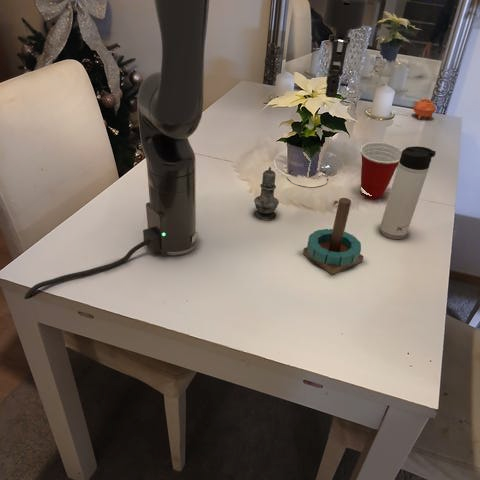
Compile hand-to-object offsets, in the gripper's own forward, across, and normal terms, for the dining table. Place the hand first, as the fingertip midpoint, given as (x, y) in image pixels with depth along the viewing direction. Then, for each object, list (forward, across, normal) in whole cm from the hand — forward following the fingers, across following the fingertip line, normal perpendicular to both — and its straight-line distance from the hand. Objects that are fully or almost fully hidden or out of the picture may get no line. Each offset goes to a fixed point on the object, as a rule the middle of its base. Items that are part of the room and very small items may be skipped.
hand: (330, 90), depth 98 cm
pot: (+28, -83, +38) cm, 95 cm away
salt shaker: (+28, +4, -11) cm, 30 cm away
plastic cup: (+28, -14, +16) cm, 35 cm away
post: (+28, +18, +6) cm, 34 cm away
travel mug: (+28, +4, +20) cm, 35 cm away
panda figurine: (+28, -20, -1) cm, 35 cm away
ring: (+27, +18, +6) cm, 32 cm away
